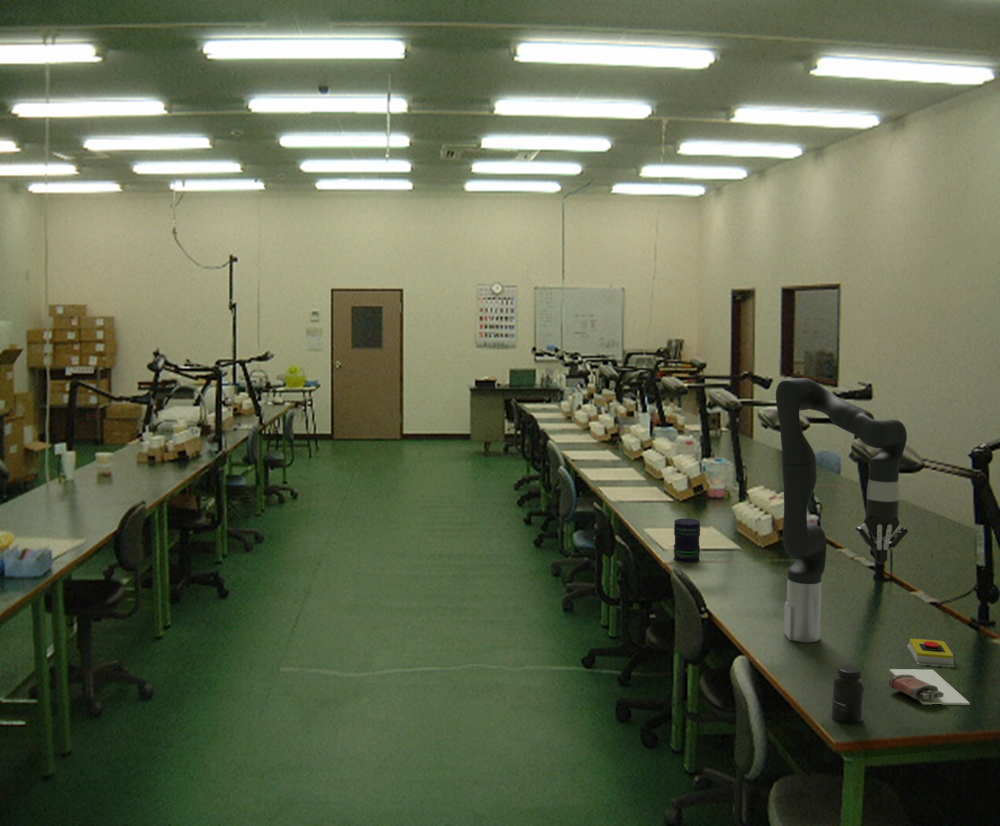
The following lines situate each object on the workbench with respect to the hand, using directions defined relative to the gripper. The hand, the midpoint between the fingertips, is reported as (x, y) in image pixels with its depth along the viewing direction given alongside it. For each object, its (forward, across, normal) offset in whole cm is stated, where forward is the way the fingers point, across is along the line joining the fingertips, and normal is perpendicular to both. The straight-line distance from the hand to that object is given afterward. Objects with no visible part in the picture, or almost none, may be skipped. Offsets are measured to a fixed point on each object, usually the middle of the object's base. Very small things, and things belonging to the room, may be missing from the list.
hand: (880, 563), depth 225 cm
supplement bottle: (+29, +17, +28) cm, 44 cm away
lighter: (+27, -2, +11) cm, 29 cm away
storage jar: (+29, +32, -107) cm, 115 cm away
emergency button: (+30, -19, -11) cm, 37 cm away
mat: (+29, -9, +10) cm, 32 cm away
